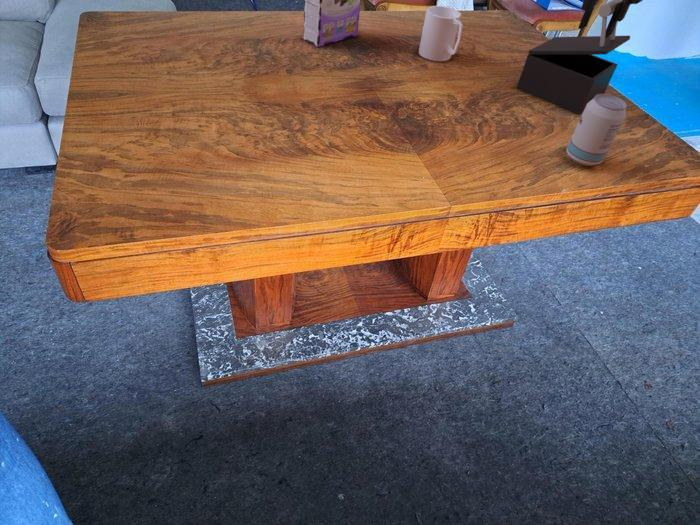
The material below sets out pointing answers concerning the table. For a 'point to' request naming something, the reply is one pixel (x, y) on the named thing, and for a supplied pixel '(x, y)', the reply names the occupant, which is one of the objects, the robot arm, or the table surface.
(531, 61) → the dark piece
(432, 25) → the cup
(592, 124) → the beverage can
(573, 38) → the lid
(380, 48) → the table surface
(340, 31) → the candy box
